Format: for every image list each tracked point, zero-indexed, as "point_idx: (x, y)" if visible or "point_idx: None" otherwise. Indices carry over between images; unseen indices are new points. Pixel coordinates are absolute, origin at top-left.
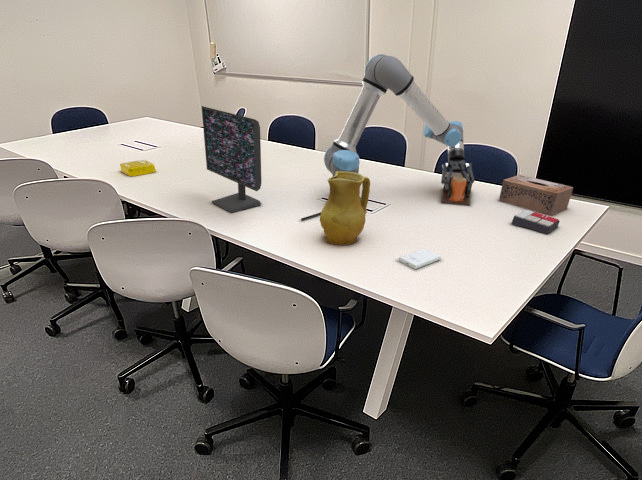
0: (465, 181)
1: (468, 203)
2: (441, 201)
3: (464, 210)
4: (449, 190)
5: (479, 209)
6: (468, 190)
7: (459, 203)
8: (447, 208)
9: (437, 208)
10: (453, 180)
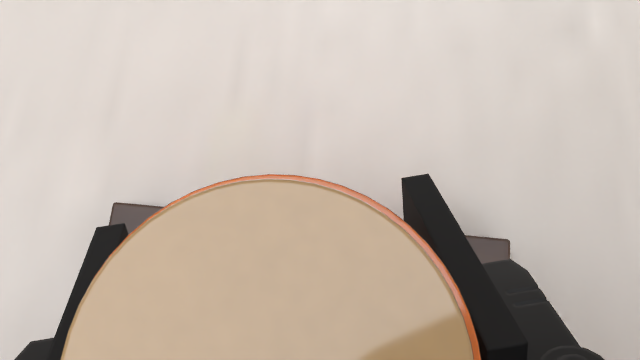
0: (109, 279)
1: (134, 211)
2: (507, 241)
3: (217, 34)
4: (455, 221)
5: (25, 101)
6: (82, 286)
7: None
8: (416, 62)
9: (536, 40)
10: (440, 280)
